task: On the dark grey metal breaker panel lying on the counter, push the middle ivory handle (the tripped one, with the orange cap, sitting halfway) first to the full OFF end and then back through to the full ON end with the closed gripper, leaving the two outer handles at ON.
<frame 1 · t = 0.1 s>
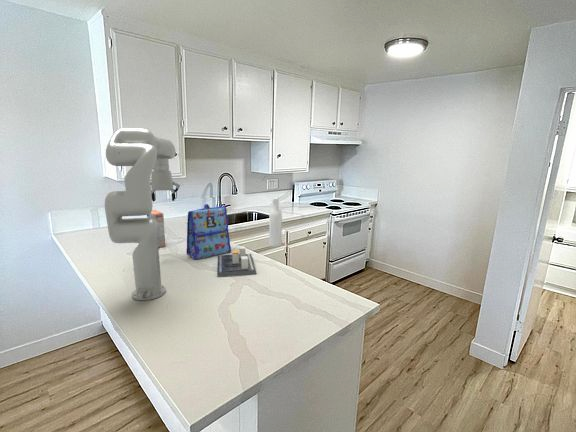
hand: (163, 200, 161), 31 cm above the counter, fingers open, 9 cm apart
lunch bag: (209, 253, 174), on the counter
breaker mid: (235, 256, 153), point 5 cm above the counter, slide at 0.0 cm
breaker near: (244, 262, 147), point 5 cm above the counter, slide at -4.0 cm
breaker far: (242, 251, 162), point 5 cm above the counter, slide at -4.0 cm
panel: (235, 266, 154), on the counter
bottle: (275, 245, 190), on the counter
cracker box: (157, 245, 188), on the counter
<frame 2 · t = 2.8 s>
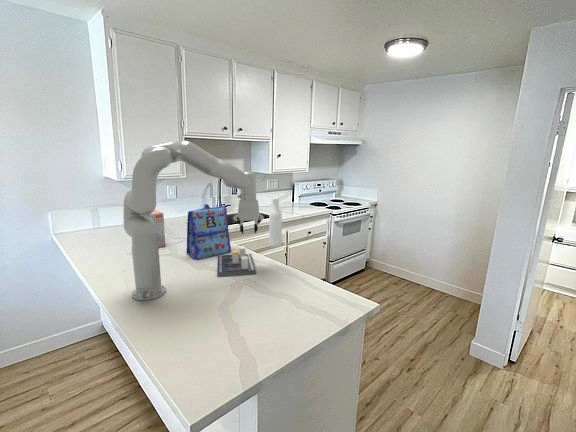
hand: (248, 232, 152), 18 cm above the counter, fingers open, 5 cm apart
nothing on the counter moved.
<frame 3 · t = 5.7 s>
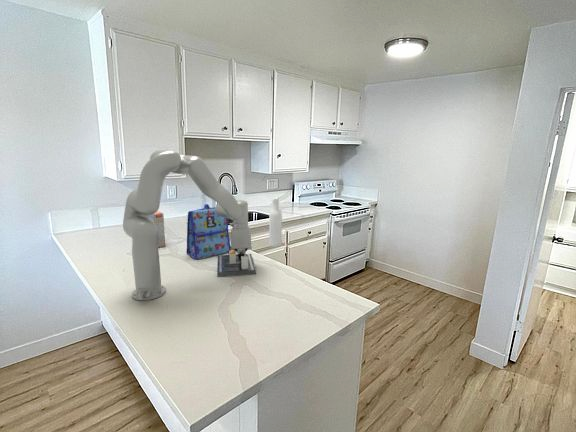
hand: (241, 260, 154), 3 cm above the counter, fingers closed
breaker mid: (232, 257, 153), point 5 cm above the counter, slide at 1.5 cm, touching gripper
everything else where it was.
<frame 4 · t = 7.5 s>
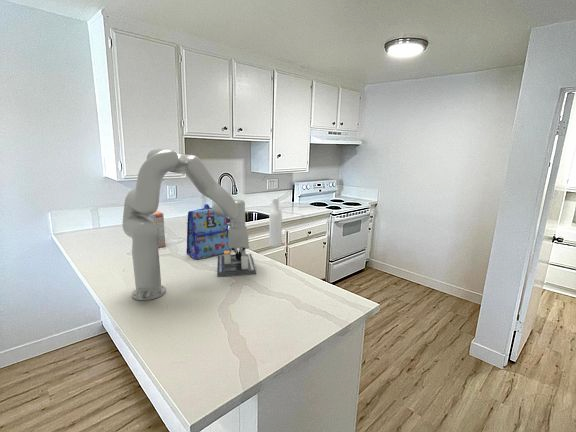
hand: (238, 259, 154), 3 cm above the counter, fingers closed
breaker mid: (227, 257, 153), point 5 cm above the counter, slide at 4.0 cm
everything else where it was.
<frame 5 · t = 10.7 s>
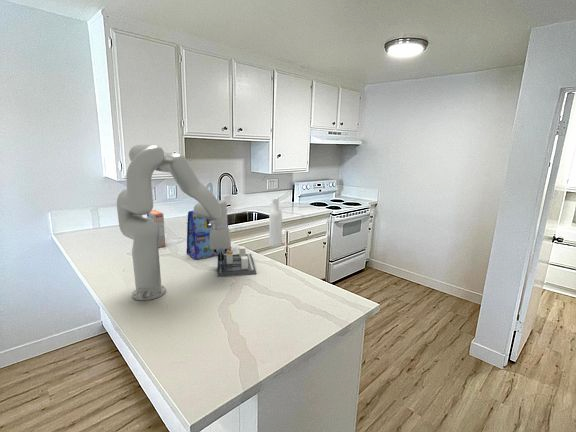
hand: (220, 261, 152), 3 cm above the counter, fingers closed
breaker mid: (229, 257, 153), point 5 cm above the counter, slide at 2.9 cm, touching gripper
everything else where it was.
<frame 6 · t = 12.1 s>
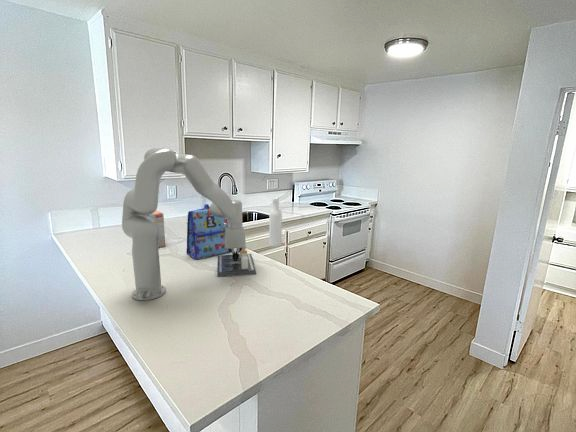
hand: (235, 260, 154), 3 cm above the counter, fingers closed
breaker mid: (243, 256, 154), point 5 cm above the counter, slide at -4.3 cm, touching gripper
everything else where it was.
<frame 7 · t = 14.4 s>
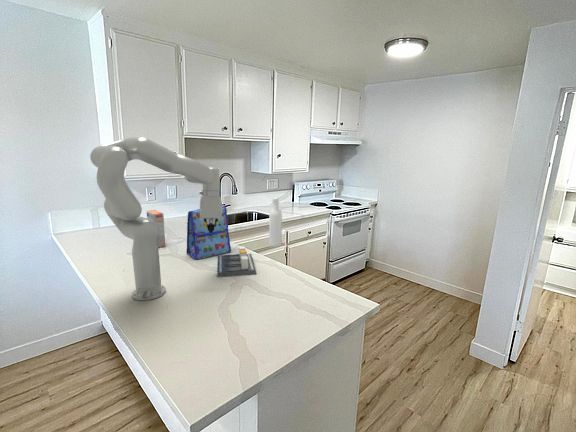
hand: (210, 232, 145), 20 cm above the counter, fingers closed
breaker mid: (243, 256, 154), point 5 cm above the counter, slide at -4.0 cm
everything else where it was.
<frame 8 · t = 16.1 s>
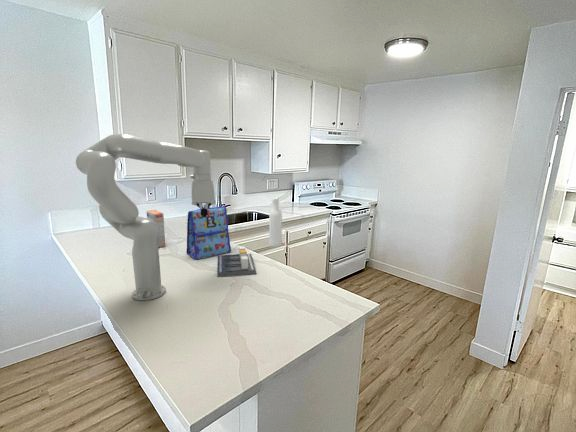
hand: (204, 216, 142), 27 cm above the counter, fingers closed
nothing on the counter moved.
at the end: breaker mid slide at -4.0 cm; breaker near slide at -4.0 cm; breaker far slide at -4.0 cm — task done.
